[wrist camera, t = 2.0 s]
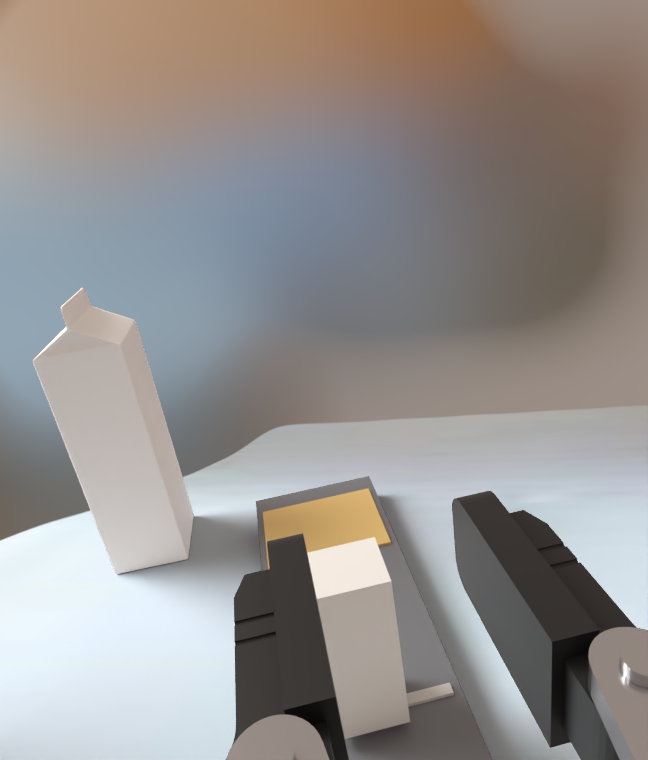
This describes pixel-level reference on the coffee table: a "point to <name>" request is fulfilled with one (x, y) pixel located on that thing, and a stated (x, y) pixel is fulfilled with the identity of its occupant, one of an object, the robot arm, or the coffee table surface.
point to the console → (415, 628)
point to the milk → (117, 436)
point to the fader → (361, 635)
